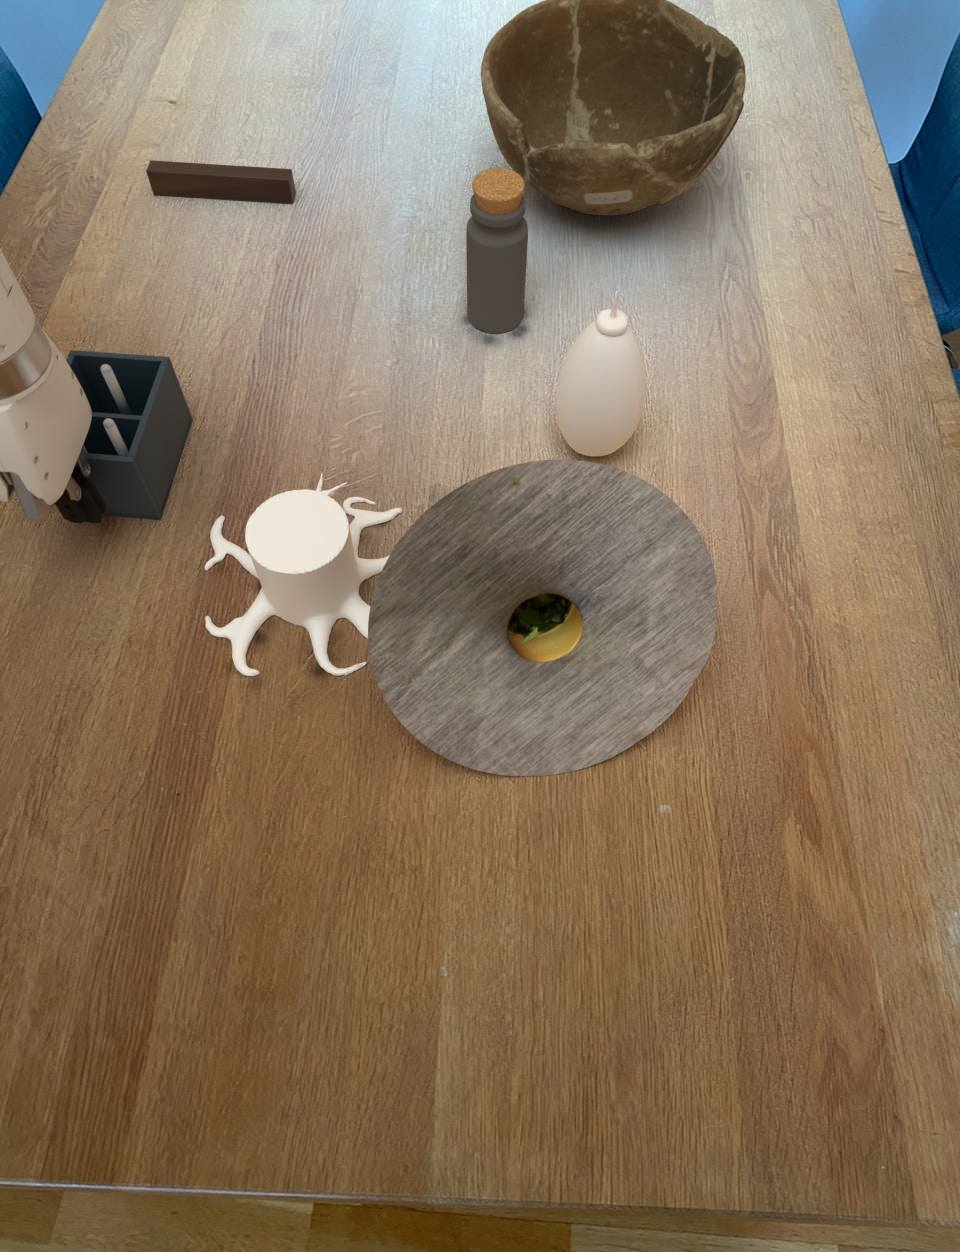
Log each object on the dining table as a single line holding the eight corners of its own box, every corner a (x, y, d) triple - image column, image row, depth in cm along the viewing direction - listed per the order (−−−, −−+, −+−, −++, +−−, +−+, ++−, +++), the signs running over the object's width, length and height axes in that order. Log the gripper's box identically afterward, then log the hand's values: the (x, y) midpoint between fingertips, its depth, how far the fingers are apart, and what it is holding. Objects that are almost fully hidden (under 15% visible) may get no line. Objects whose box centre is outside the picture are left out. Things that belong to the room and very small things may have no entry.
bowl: (651, 308, 98) (678, 177, 85) (435, 218, 105) (429, 85, 92) (757, 167, 110) (795, 33, 97) (556, 95, 117) (566, -39, 104)
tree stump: (446, 513, 85) (443, 454, 78) (392, 704, 75) (384, 657, 68) (234, 477, 87) (213, 416, 80) (156, 659, 77) (124, 608, 70)
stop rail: (292, 204, 106) (288, 180, 103) (153, 195, 107) (145, 171, 104) (296, 192, 107) (291, 168, 104) (158, 184, 108) (150, 160, 105)
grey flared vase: (689, 678, 84) (657, 400, 76) (746, 771, 68) (714, 429, 60) (416, 726, 85) (356, 456, 77) (406, 829, 69) (328, 500, 61)
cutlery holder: (160, 520, 84) (126, 450, 76) (62, 512, 85) (18, 442, 76) (192, 418, 90) (164, 344, 82) (101, 412, 90) (63, 337, 82)
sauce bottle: (639, 475, 87) (675, 324, 71) (555, 479, 87) (572, 329, 71) (626, 411, 91) (658, 255, 75) (546, 415, 91) (561, 259, 75)
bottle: (527, 298, 99) (535, 166, 86) (518, 337, 96) (525, 207, 83) (472, 291, 99) (472, 159, 86) (462, 330, 96) (460, 200, 83)
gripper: (-25, 273, 68) (70, 443, 84) (-109, 431, 60) (13, 585, 76) (77, 280, 67) (153, 450, 83) (5, 440, 60) (104, 592, 76)
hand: (86, 514), depth 80 cm, fingers closed
